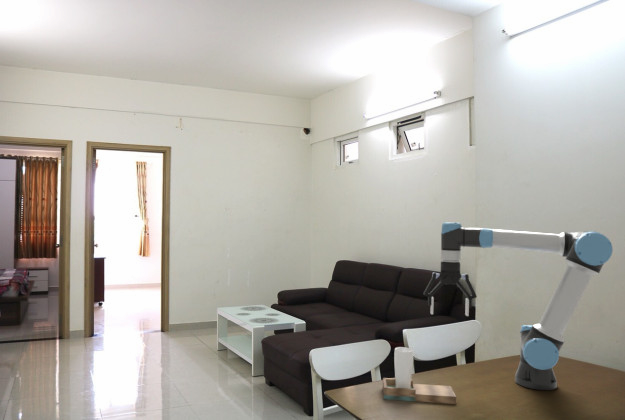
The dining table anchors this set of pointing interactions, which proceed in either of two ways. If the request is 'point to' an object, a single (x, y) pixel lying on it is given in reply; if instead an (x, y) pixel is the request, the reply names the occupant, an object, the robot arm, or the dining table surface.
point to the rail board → (418, 392)
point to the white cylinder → (403, 366)
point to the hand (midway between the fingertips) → (449, 314)
